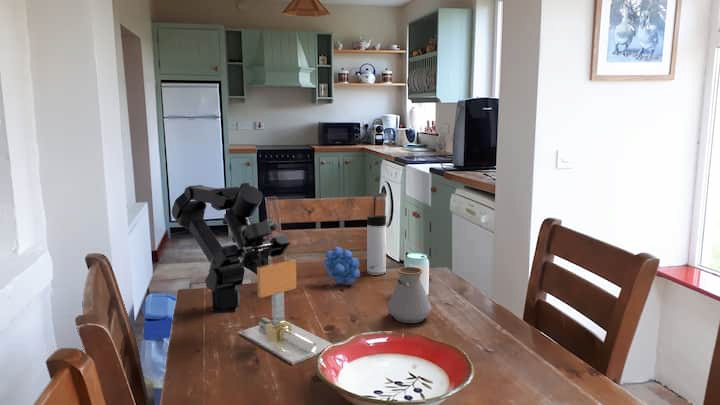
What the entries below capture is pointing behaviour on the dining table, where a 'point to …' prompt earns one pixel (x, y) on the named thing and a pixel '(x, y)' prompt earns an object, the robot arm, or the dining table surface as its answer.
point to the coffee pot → (409, 297)
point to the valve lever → (276, 285)
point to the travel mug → (376, 244)
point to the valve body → (286, 340)
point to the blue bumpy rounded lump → (342, 266)
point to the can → (422, 263)
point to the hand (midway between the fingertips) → (267, 280)
